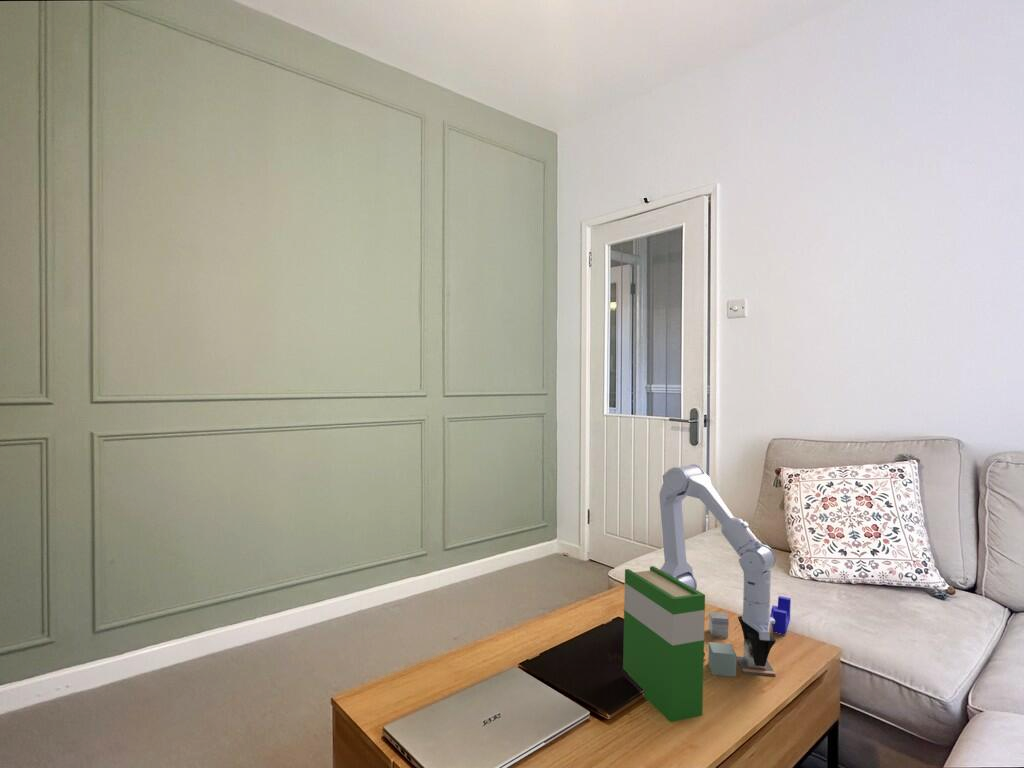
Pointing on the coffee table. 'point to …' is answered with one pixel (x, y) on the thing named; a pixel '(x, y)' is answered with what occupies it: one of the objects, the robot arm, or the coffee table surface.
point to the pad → (755, 671)
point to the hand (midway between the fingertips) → (755, 657)
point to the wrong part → (718, 624)
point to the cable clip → (781, 615)
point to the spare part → (750, 656)
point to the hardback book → (665, 641)
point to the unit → (722, 659)
